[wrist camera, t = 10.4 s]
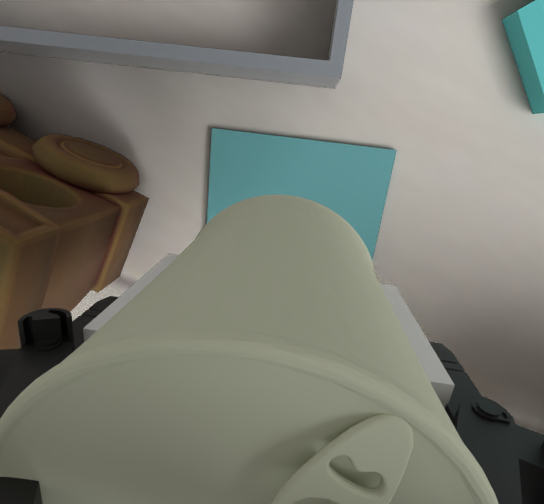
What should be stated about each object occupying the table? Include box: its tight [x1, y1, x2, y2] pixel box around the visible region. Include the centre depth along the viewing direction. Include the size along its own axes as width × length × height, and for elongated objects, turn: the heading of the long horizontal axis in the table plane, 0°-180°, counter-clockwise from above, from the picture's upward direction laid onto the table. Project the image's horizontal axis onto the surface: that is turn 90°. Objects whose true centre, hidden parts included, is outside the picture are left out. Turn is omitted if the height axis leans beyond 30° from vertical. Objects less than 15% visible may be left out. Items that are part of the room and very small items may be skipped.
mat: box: [207, 128, 396, 259], centre depth 28 cm, size 14×14×1 cm
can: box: [0, 194, 499, 504], centre depth 11 cm, size 9×9×12 cm
